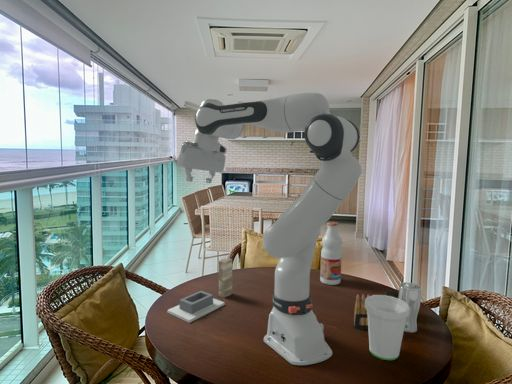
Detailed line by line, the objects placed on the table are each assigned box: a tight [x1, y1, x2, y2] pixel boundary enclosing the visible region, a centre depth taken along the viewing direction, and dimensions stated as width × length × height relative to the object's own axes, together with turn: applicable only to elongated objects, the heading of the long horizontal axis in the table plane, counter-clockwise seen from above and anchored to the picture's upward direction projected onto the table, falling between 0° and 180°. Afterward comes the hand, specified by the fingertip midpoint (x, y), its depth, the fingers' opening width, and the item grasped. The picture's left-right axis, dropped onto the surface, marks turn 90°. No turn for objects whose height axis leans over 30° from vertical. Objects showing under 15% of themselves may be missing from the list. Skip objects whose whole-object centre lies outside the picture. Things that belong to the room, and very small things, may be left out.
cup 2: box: [365, 294, 410, 361], centre depth 100 cm, size 12×12×15 cm
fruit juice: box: [319, 221, 343, 286], centre depth 155 cm, size 9×9×28 cm
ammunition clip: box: [352, 293, 375, 330], centre depth 114 cm, size 11×2×12 cm, turn 87°
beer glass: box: [398, 281, 422, 334], centre depth 114 cm, size 7×7×15 cm
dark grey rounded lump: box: [384, 288, 399, 298], centre depth 125 cm, size 8×7×8 cm
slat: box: [218, 257, 233, 299], centre depth 139 cm, size 3×5×15 cm, turn 143°
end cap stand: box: [166, 290, 226, 324], centre depth 127 cm, size 12×18×4 cm, turn 143°
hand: (199, 182), depth 123 cm, fingers open, 8 cm apart
